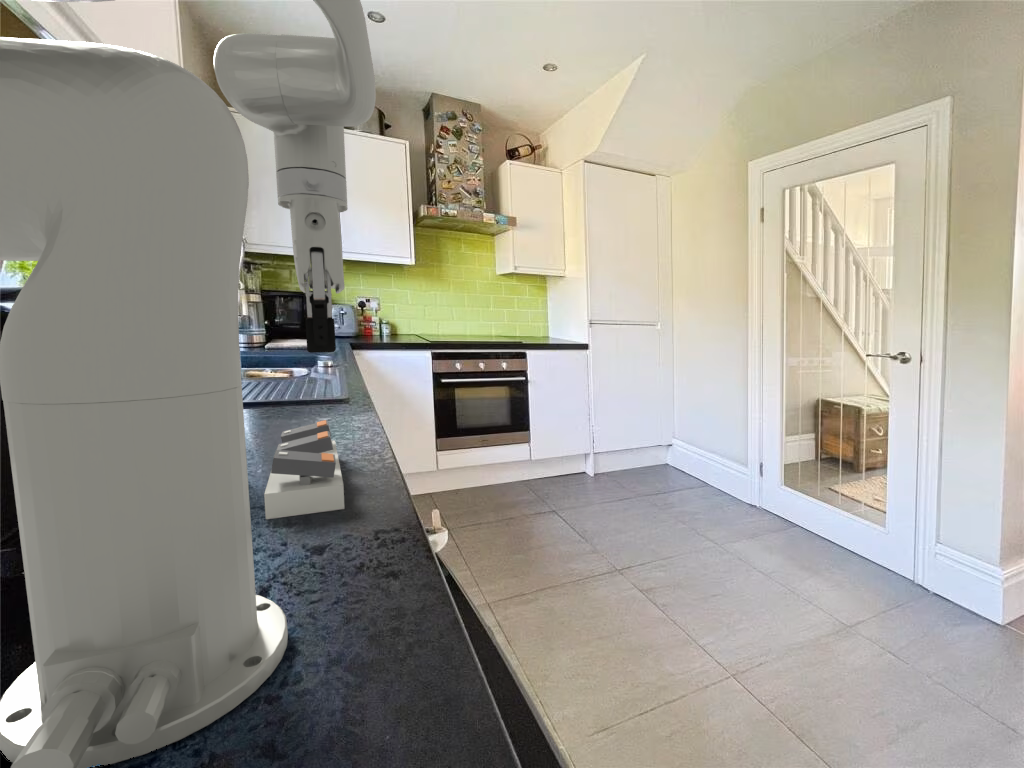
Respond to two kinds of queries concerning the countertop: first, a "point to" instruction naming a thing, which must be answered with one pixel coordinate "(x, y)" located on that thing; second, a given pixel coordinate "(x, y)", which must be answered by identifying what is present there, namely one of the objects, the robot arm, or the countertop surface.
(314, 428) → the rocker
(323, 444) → the rocker
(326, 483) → the switch panel base
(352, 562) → the countertop surface
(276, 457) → the rocker
